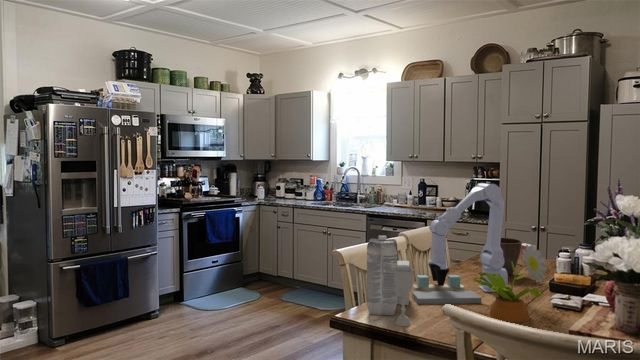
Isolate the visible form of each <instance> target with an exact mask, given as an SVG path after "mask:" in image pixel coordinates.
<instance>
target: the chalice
mask: <svg viewBox="0 0 640 360" xmlns="http://www.w3.org/2000/svg"><path fill="white" fill-rule="evenodd" d="M393 271H394V284H395V288H396V290H397V293H398V295H399V297H401V298H402V302H401V308H400V310H401V314H400V315H398V316H397V318H396V321H395V325H397V326H399V327H409V326H411V321H410V318H409V317H408V316H407V315H406V314H405V311H406V310H407V309H406V308H405V306H406V305H405V304H406V303H405V297H407V296H408V294H409V295H410V291H412V288H413V273H414V271H415V270H414V268H411V267H410V268H408V267H396V268H393Z"/></svg>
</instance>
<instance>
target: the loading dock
mask: <svg viewBox="0 0 640 360" xmlns="http://www.w3.org/2000/svg"><path fill="white" fill-rule="evenodd" d="M411 297H412V298H413V300H414V301H415V302H416V303H417V304H418V305H425V304H426V305H428V304H429V305H431V304H432V305H433V304H434V305H436V304H437V305H438V304H439V305H442V304H444V305H445V304H449V305H450V304H482V297H481V296H480V295H478V293H476V292H475V291H473V290H465V291H412V290H411Z"/></svg>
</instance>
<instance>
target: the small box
mask: <svg viewBox="0 0 640 360" xmlns="http://www.w3.org/2000/svg"><path fill="white" fill-rule="evenodd" d="M526 245H528V247H529V249H530V246H531V244H529V243H526V242H525V243H524V242H523V243H522V245H521V250H520V255H519V258H518V262H517V265H519V266H522V267H523V266H525V267H526V264H525V261H524V260H523V258H524V254H523V251H522V250H523V249H524V250H525V251H526ZM536 249H537V245H534V252H535V250H536ZM525 267H524V268H525Z"/></svg>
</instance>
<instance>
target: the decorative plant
mask: <svg viewBox="0 0 640 360" xmlns="http://www.w3.org/2000/svg"><path fill="white" fill-rule="evenodd" d="M530 245H531V246H530V249H529V247H528V245H526V251H525V250H524V249H523V250H522V251H523V254H524V258H523V260H524V261H525V264H526V267H525V266H522V267H521V268H520V269H519V270H518V271H517V272H516V267H514V264H513V262H512V261H511V264H512V268H513V271H514V272H513V274H514V277H513V280H512V283H511V285H509V286H508V287H506V284H505V281H504V279H503V278H502V277H501V276H500V275H499V274H498V273H497V274H493V275H492V274H490V273H486V272H483V271H482V272H480V273H481V274H480V275H479V277H475V278H474V280H473V282H475V283H478V285H479V284H480V285H481V286H482V285H487V286H488V287H489V288H491V291H493V292H492V293H496V294H497V296H496V298H495V300H494V301H493V303H492V304H491V305H490V308H489V309H490V310H489V312H488V315H489V317H490V318H493V319H494V318H496V319H495V320H497V319H500V320H499V321H501V320H504V321H503V322H506V321H508V323H524V322H527V321H530V318H531V317H530V311H529V308H528V307H527V305H526V304H525V303H524V299H523V298H521V297H522V296H524V295H526V294H528V293H530V294H532V295H533V296H534V297H535V298H537V299H538V298H539V297H541V296H542V295H543V293H542V292H539V291H538V288H537V287H534V288H533V287H532V288H525V289H523V290H522V291H520V292H519V293H517V294H514V292H513V289H514V283H515V280H520V279H523V278H524V277H526V274H521V275H519V276H517V275H518V274H520V272H521V271H522V270H524V268H525V270H526V271H528V274H529V278H532V279H534V280H535V282H536V283H538V282H539V283H540V284H543V281H542V280H544V279H545V278H546V275H545V274H546V272H547V271H548V269H547V267H545V266H546V264H545V262H546V257H544V256H543V254H542V251H541V250H538V249H537V248H536V250H535V252H534V246H535V245H534V244H533V243H531V244H530ZM484 275H486V276H487V277H488V279H489V281H490V282H491V283H490V282H489V281H487V280H486V279H485V278H484V277H483V276H484ZM494 276H496V277H494ZM496 278H497V279H496ZM482 280H484V282H483V281H482ZM485 281H486V282H487V283H486V282H485ZM489 284H490V285H489Z"/></svg>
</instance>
